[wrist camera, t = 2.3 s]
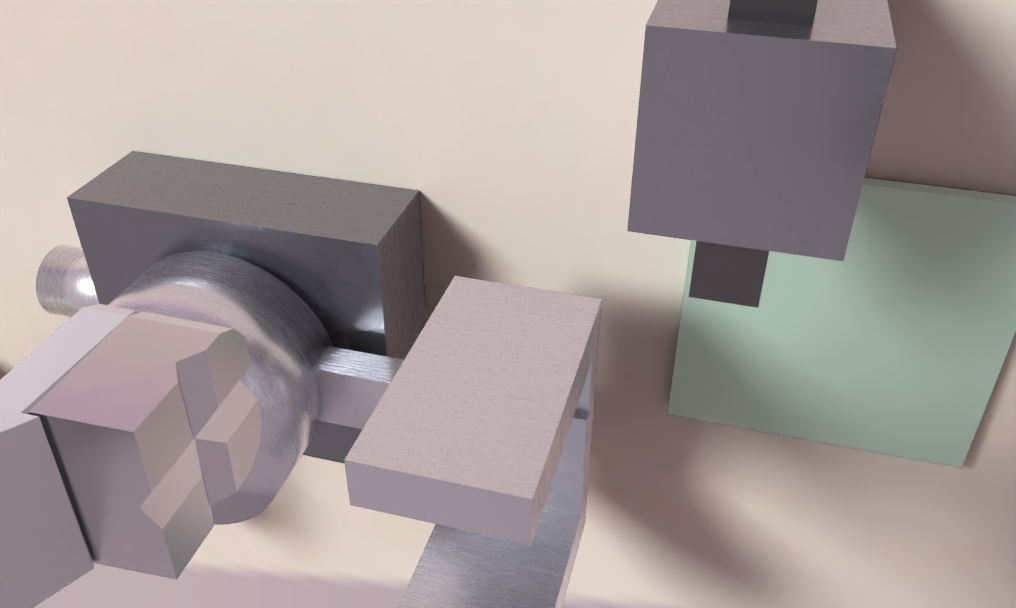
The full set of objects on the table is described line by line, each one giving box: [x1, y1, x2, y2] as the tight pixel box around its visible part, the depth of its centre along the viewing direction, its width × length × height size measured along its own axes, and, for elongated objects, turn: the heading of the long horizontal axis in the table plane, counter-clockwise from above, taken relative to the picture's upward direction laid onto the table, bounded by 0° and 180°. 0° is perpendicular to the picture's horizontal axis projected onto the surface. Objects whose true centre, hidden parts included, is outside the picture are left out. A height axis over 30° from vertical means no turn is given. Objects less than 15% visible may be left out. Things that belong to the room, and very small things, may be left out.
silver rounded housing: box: [108, 251, 602, 608], centre depth 23 cm, size 14×8×7 cm, turn 90°
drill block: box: [36, 151, 426, 463], centre depth 28 cm, size 12×8×3 cm
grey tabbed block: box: [628, 0, 897, 308], centre depth 17 cm, size 3×6×8 cm, turn 0°
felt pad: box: [667, 177, 1016, 468], centre depth 24 cm, size 8×8×1 cm
